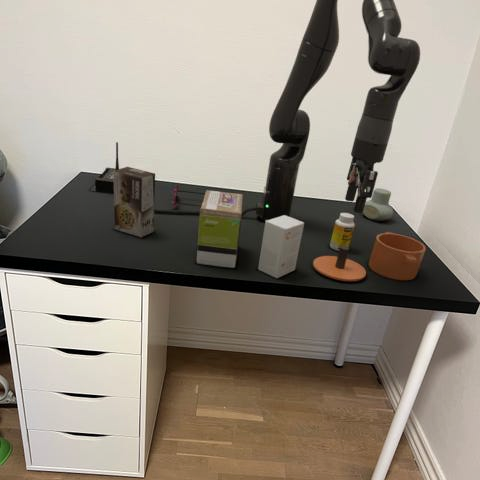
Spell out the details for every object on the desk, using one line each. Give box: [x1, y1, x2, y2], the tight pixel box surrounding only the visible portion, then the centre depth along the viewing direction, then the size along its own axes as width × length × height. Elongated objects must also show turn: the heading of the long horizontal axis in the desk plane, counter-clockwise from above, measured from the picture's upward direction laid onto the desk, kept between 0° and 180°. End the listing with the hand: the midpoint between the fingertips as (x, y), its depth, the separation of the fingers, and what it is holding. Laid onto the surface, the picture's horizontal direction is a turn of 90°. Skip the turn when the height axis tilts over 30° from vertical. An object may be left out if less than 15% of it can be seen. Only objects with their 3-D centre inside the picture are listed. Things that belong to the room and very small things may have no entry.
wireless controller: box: [90, 141, 120, 195], centre depth 155 cm, size 20×14×17 cm
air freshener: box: [362, 187, 394, 222], centre depth 166 cm, size 11×8×10 cm
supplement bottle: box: [329, 212, 355, 252], centre depth 136 cm, size 6×6×10 cm
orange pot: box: [368, 231, 427, 281], centre depth 128 cm, size 13×18×8 cm
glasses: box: [171, 185, 206, 210], centre depth 153 cm, size 14×16×5 cm
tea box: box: [196, 189, 244, 269], centre depth 120 cm, size 15×10×15 cm, turn 178°
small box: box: [257, 215, 305, 279], centre depth 117 cm, size 8×6×13 cm
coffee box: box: [113, 166, 156, 238], centre depth 126 cm, size 9×6×16 cm
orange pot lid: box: [312, 246, 367, 282], centre depth 123 cm, size 14×14×7 cm
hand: (353, 206), depth 117 cm, fingers open, 8 cm apart
